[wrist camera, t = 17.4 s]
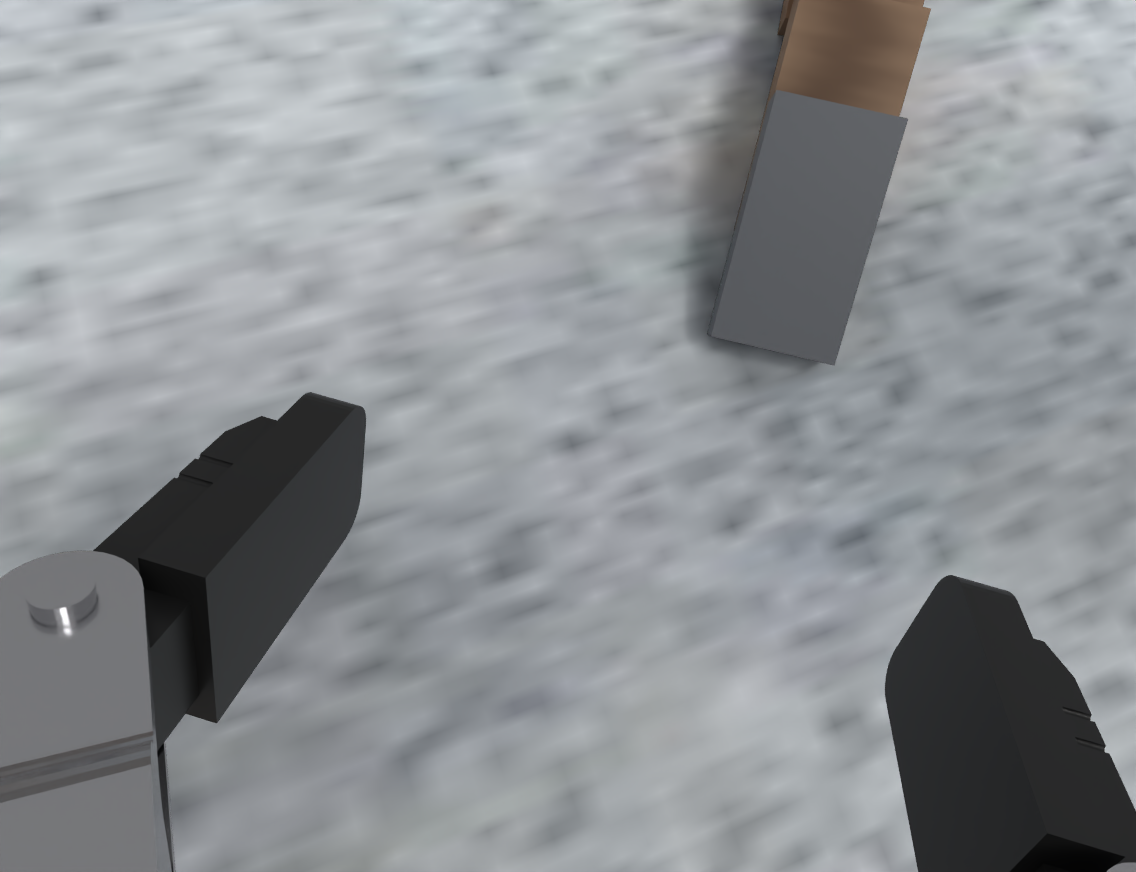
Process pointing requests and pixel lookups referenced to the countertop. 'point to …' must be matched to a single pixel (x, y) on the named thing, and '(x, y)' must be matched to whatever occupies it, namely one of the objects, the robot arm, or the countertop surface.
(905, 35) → the domino
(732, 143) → the countertop surface
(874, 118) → the domino
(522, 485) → the countertop surface
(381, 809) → the countertop surface
